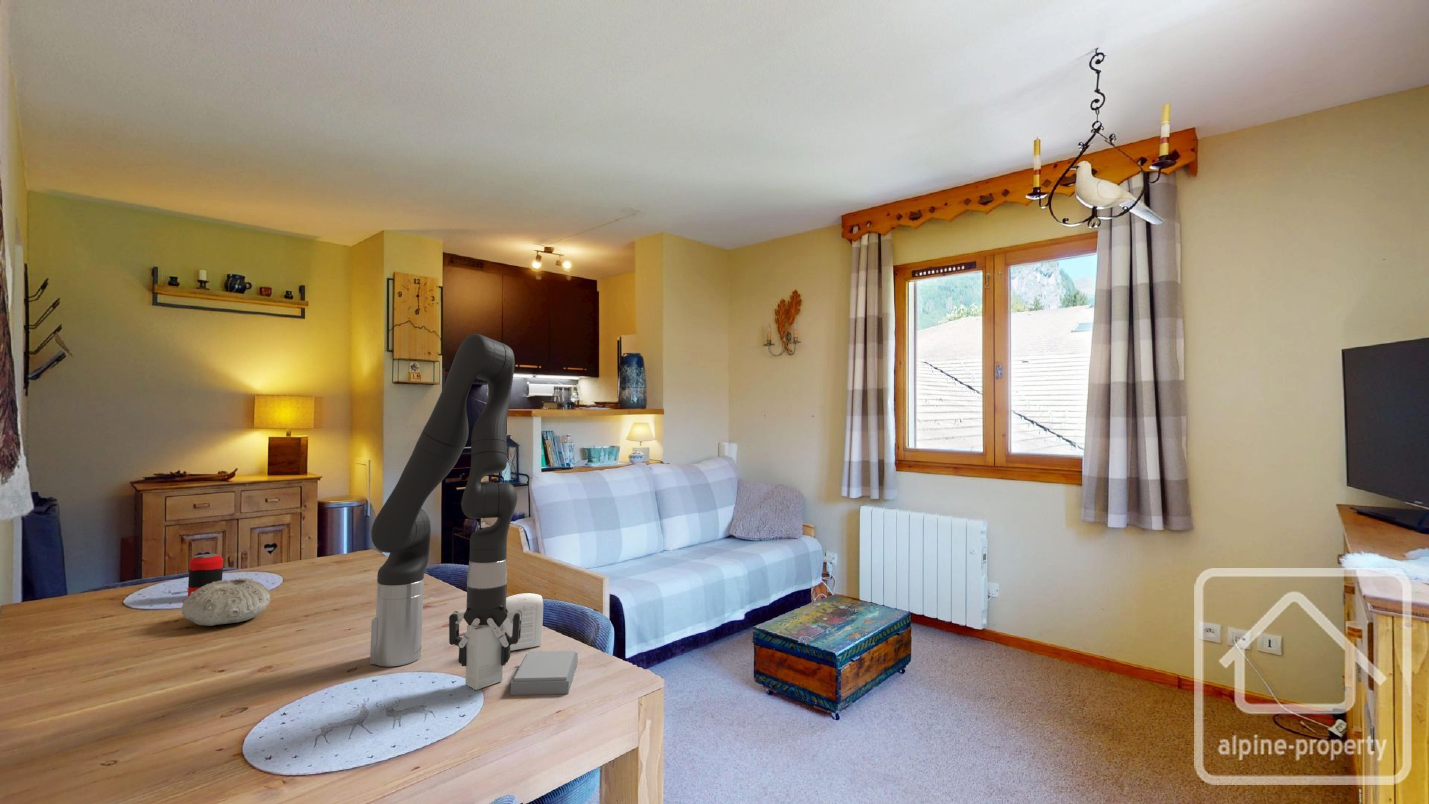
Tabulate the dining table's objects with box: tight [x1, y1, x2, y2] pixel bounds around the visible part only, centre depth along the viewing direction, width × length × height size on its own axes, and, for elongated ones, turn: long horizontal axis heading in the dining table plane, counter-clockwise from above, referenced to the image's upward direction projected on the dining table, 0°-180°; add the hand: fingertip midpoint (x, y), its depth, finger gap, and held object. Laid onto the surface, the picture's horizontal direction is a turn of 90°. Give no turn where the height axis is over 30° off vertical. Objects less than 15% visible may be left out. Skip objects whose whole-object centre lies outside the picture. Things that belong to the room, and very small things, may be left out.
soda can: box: [187, 553, 224, 598], centre depth 177 cm, size 8×8×12 cm
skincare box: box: [465, 623, 504, 691], centre depth 123 cm, size 6×4×12 cm
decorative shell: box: [181, 577, 271, 627], centre depth 157 cm, size 18×18×10 cm
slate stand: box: [510, 650, 579, 696], centre depth 126 cm, size 11×15×3 cm
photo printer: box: [503, 592, 544, 652], centre depth 144 cm, size 10×4×12 cm, turn 123°
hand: (484, 664), depth 123 cm, fingers closed on skincare box, 7 cm apart
